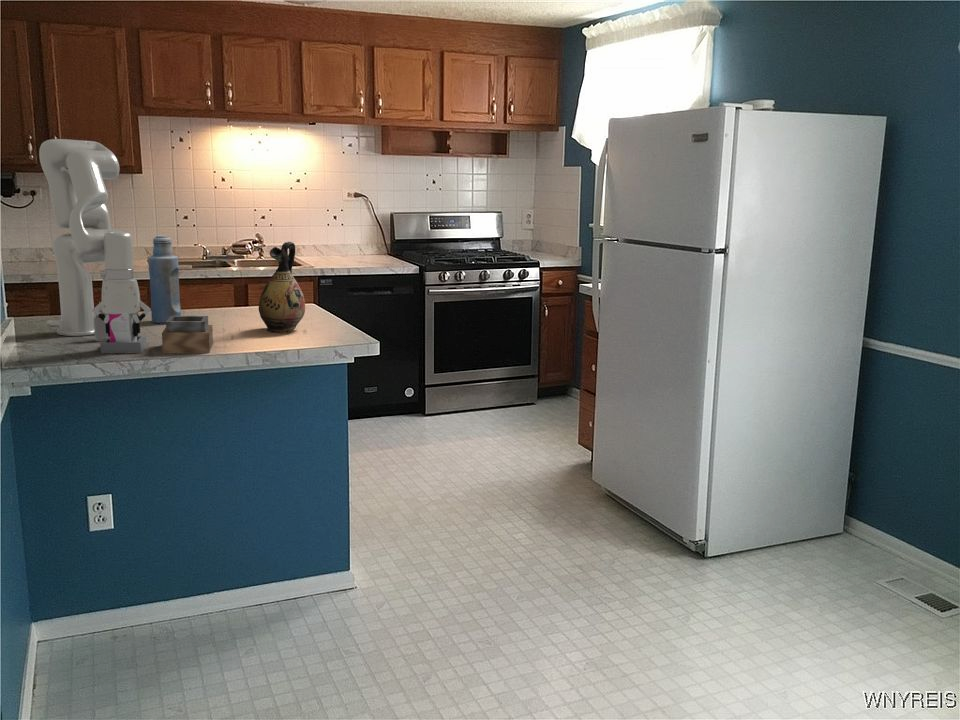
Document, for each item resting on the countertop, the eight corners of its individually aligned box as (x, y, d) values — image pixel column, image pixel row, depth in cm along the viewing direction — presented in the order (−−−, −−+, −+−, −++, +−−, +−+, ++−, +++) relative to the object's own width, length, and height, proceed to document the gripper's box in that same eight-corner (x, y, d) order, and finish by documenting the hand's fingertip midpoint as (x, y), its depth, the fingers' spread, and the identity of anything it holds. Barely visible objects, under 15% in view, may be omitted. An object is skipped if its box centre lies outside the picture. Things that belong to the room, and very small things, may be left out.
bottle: (172, 324, 282) (168, 237, 275) (145, 323, 283) (141, 235, 277) (186, 320, 291) (182, 235, 285) (160, 318, 293) (156, 234, 286)
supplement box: (138, 347, 244) (136, 309, 242) (130, 351, 238) (128, 312, 236) (118, 346, 244) (116, 308, 242) (110, 351, 238) (107, 312, 236)
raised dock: (162, 353, 238) (161, 322, 236) (168, 344, 250) (167, 315, 248) (209, 352, 241) (208, 322, 239) (213, 343, 253) (212, 315, 251)
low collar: (100, 353, 235) (100, 343, 234) (108, 345, 245) (107, 335, 244) (140, 352, 237) (140, 342, 237) (146, 345, 248) (146, 335, 247)
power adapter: (115, 340, 254) (113, 301, 251) (96, 341, 251) (94, 302, 248) (113, 338, 256) (111, 300, 254) (94, 339, 253) (92, 301, 251)
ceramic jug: (290, 335, 270) (288, 244, 264) (250, 331, 275) (247, 242, 269) (316, 328, 286) (315, 241, 280) (278, 324, 291) (276, 239, 284)
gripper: (84, 276, 231) (88, 338, 235) (149, 276, 235) (153, 338, 239) (90, 273, 238) (94, 333, 242) (153, 273, 242) (156, 333, 246)
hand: (123, 335), depth 240 cm, fingers closed on supplement box, 6 cm apart
